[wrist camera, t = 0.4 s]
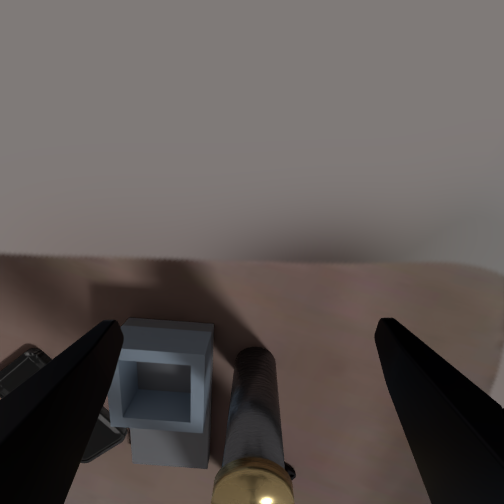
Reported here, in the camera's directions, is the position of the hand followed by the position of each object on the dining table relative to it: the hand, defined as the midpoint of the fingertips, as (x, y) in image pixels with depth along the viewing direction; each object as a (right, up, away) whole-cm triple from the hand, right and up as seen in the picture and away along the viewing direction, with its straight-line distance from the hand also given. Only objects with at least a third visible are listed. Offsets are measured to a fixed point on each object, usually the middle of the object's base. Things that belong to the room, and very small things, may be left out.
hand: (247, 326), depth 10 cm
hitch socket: (-9, -13, +22) cm, 27 cm away
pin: (+1, -10, +20) cm, 22 cm away
